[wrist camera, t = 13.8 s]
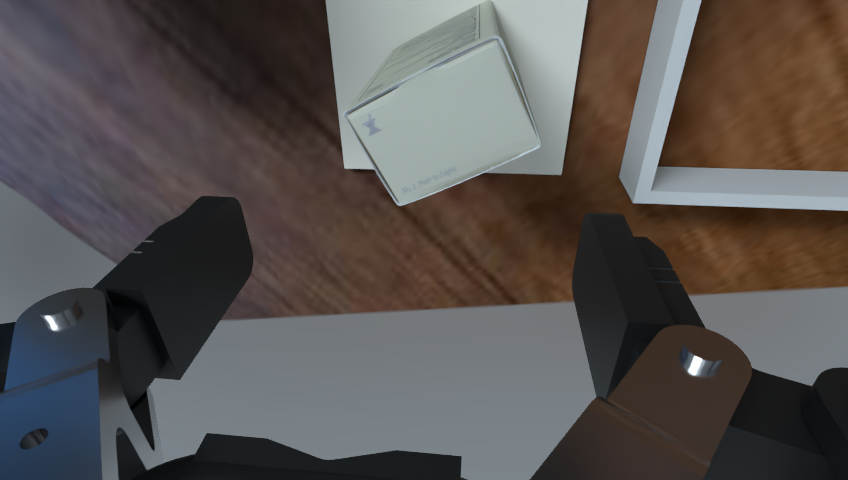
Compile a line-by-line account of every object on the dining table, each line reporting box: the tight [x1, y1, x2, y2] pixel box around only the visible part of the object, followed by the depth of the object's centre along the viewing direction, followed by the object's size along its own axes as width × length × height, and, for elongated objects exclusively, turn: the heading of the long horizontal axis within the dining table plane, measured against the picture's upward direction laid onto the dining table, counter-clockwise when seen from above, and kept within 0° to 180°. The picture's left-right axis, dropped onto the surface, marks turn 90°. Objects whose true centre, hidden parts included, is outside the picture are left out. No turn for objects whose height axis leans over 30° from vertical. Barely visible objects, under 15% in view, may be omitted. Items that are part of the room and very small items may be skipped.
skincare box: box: [343, 0, 542, 206], centre depth 22 cm, size 6×4×12 cm
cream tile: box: [326, 0, 588, 175], centre depth 28 cm, size 14×14×1 cm
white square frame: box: [619, 0, 848, 211], centre depth 25 cm, size 15×17×4 cm
